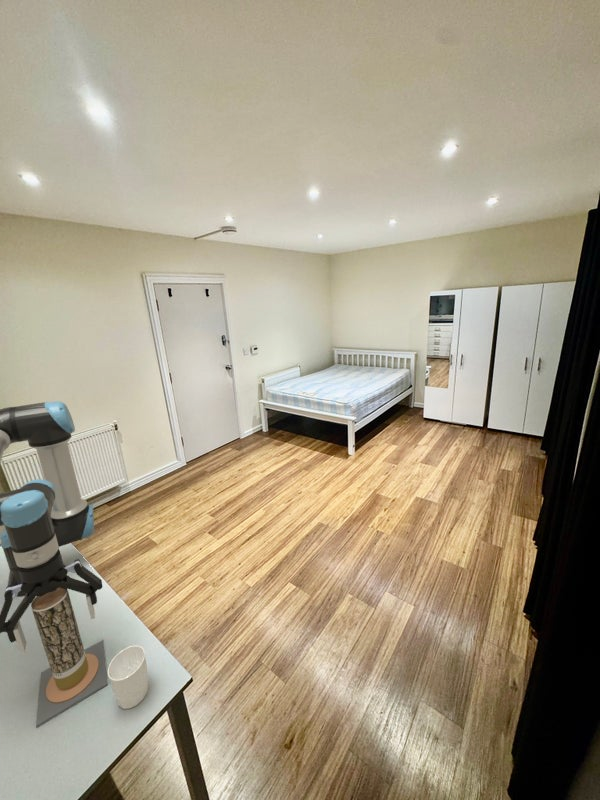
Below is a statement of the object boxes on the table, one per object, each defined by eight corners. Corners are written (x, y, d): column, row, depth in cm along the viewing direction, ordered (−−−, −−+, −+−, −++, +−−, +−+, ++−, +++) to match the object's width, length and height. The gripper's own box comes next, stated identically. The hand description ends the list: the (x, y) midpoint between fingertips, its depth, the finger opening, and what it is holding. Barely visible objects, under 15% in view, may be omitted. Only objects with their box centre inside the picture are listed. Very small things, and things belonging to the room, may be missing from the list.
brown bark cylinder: (71, 694, 75) (47, 612, 69) (49, 688, 76) (23, 607, 70) (95, 664, 81) (74, 587, 75) (74, 659, 83) (52, 583, 77)
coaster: (41, 674, 81) (40, 670, 80) (103, 641, 89) (102, 638, 88) (36, 728, 70) (35, 724, 69) (108, 685, 78) (107, 681, 77)
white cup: (142, 668, 81) (136, 638, 79) (157, 689, 76) (150, 658, 74) (110, 696, 75) (102, 665, 73) (123, 721, 70) (115, 688, 68)
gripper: (-45, 597, 60) (-14, 678, 65) (103, 542, 74) (119, 612, 79) (-34, 574, 66) (-7, 650, 71) (101, 527, 80) (116, 593, 85)
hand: (60, 630), depth 75 cm, fingers open, 13 cm apart
